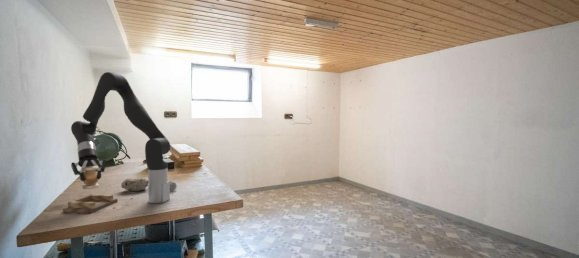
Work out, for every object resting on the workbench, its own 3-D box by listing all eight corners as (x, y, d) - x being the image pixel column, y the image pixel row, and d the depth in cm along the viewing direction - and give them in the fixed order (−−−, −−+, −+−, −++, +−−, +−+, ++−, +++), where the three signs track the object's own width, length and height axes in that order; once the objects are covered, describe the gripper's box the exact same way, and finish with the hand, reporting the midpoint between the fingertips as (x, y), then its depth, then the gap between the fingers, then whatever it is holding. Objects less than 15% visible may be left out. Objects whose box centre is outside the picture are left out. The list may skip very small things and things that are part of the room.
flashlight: (154, 188, 159) (154, 179, 159) (163, 186, 163) (163, 177, 163) (168, 192, 150) (167, 183, 150) (176, 190, 154) (176, 181, 154)
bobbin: (101, 185, 128) (101, 166, 127) (91, 189, 121) (90, 168, 121) (90, 185, 128) (90, 165, 128) (79, 188, 122) (78, 168, 122)
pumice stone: (121, 194, 144) (120, 179, 144) (121, 193, 153) (120, 179, 154) (149, 189, 151) (148, 176, 152) (148, 188, 161) (147, 176, 162)
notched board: (117, 201, 133) (117, 194, 132) (90, 213, 117) (90, 204, 116) (92, 200, 134) (92, 193, 134) (62, 211, 118) (62, 203, 118)
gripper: (69, 148, 124) (72, 177, 116) (105, 146, 134) (110, 172, 126) (68, 158, 128) (71, 186, 120) (103, 155, 138) (108, 181, 130)
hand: (91, 179), depth 123 cm, fingers closed on bobbin, 5 cm apart
